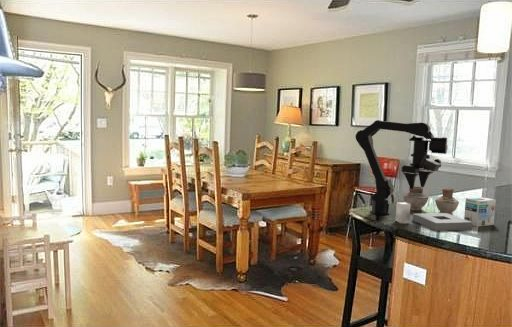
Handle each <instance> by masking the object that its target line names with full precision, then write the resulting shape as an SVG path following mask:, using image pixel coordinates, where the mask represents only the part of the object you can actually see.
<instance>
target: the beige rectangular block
mask: <svg viewBox="0 0 512 327" xmlns="http://www.w3.org/2000/svg"><path fill="white" fill-rule="evenodd" d="M410 206H411V204H409V203H406V202H405V201H403V202H401V201H400V202H396V208H395V209H396V210H395V222H396V221H397V223H398V222H399V224H410V221H411V220H410V218H411V210H410Z"/></svg>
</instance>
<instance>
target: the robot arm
mask: <svg viewBox="0 0 512 327" xmlns="http://www.w3.org/2000/svg"><path fill="white" fill-rule="evenodd" d="M381 130H387V131H395V132H396V131H397V132H401V133H402V132H404V133H408V134H410V135H412V137H411V138H408V139H409V141H411V142H413V147H412V148H413V151H412V153H410V157H412V159H411V160H412V162H411V163H409V164H403V166H401V172H402V174H403V175H404V177H405V178H406V180H407V184H408V186H409V187H410V189H413V188H414V186H415V183H416V177H417V176H418V179H419V184H420V187H422V188H424V187H425V186H426V183H427V180H428V178H429V176H430V175H431V174H433V173H434V172H438V171H439V168H442V160H441V159H439V158H435V159H431V158H430V156H431V155H429V154H428V151H431V153H432V154H441V155H443V154H444V155H447V152H448V137H437V136H436V137H435V136H434V135H433V133H432V131H431V126H430V125H429V124H428V123H426V122H411V123H404V122H396V121H395V122H394V121H386V120H385V121H384V120H382V119H377V120H375V121H374V122H372V123H371V124H370V125H368V126H367V127H365V128H364V129H361V130H359V131H357V132H356V134H355V140H356V142H357V144H358V145H359V147H360V148H361V149H362V150H363V151H364V154H365V156H366V159H367V161H368V164H369V167H370V170H371V172H372V174H373V176H374V179H375V189H376V192H375V193H373V194H372V195H371V199H372V200H371V201H372V202H371V210H369V213H372V214H374V215H376V216H382V215H383V216H384V215H385V216H386V215H388V216H389V215H390V213H389V210H390V204H389V200H388V199H389V197H390V196H392V195H393V193H394V191H395V190H394V188H395V186H394V185H393V182H392V181H393V180H392V179H391V178H389V179H388V178H387V177H386V176H385V173H384V171H383V168H382V166H381V163H380V160H379V158H378V155H377V153H376V150H375V148H374V139H373V136H374V135H376V134H377V133H378V132H379V131H381Z"/></svg>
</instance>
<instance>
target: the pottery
mask: <svg viewBox="0 0 512 327" xmlns="http://www.w3.org/2000/svg"><path fill="white" fill-rule="evenodd" d="M441 190H442V195H441V196H439V197H438V198H435V200H434V201H435V205H436V208H437V209H438V210H439V212H438V213H448V214H451V215H454V212H455V211H456V210H457V209H458V207H459V203H460V202H459V200H458V199H456V198H455V197H453V195H454V191H455V189H454V188H448V187H447V188H444V187H442V188H441ZM423 191H424V187H421V186H415V185H414V188H413V189H410V186H409V188H408V192H407V193H405V194H403V196H402V197H403V198H402V199H403V202H406V203H409V204H411V206H410V209H411V210H410V211H415V210H420V211H422V208H424V207H425V205H427V203H428V201H429V196H428V195H426V194H425V193H423Z"/></svg>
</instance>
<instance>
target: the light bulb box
mask: <svg viewBox="0 0 512 327" xmlns="http://www.w3.org/2000/svg"><path fill="white" fill-rule="evenodd" d="M464 203H465V205H464V213H463V214H464V216H463V219H465V220H468V221H470V222H472V227H485V226H493V225H494V224H495V223H494V222H495V212H496V203H497V199H495V198H494V199H493V198H488V197H485V196H478V197H466V198H465V202H464Z"/></svg>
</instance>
